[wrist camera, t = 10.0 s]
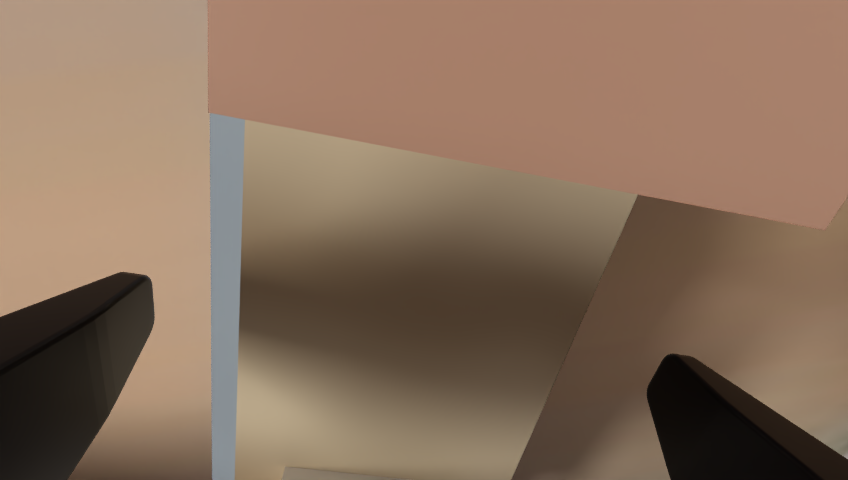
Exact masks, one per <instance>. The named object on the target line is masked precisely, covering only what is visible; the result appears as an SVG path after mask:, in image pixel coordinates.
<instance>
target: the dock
mask: <svg viewBox="0 0 848 480" xmlns="http://www.w3.org/2000/svg"><path fill="white" fill-rule="evenodd" d="M244 132H245V120H244V119H239V118H234V117H229V116H223V115H218V114H213V113H210V215H211V381H212V480H235V447H236V412H237V377H238V342H239V307H240V272H241V237H242V202H243V167H244Z"/></svg>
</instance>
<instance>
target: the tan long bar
mask: <svg viewBox="0 0 848 480" xmlns="http://www.w3.org/2000/svg"><path fill="white" fill-rule="evenodd" d="M637 196H638V195H637V194H632V193H627V192H622V191H616V190H611V189H606V188H601V187H595V186H590V185H585V184H580V183H574V182H569V181H564V180H559V179H554V178H548V177H543V176H538V175H533V174H527V173H522V172H517V171H512V170H506V169H501V168H496V167H491V166H485V165H480V164H475V163H470V162H464V161H459V160H454V159H449V158H444V157H438V156H433V155H428V154H423V153H417V152H412V151H407V150H402V149H396V148H391V147H386V146H381V145H375V144H370V143H365V142H360V141H354V140H349V139H344V138H339V137H333V136H328V135H323V134H318V133H313V132H307V131H302V130H297V129H292V128H286V127H281V126H276V125H271V124H265V123H260V122H255V121H250V120H245V132H244V167H243V202H242V237H241V272H240V307H239V342H238V377H237V412H236V447H235V480H282V477H283V473H284V469H285V467H295V468H304V469H314V470H323V471H333V472H342V473H352V474H362V475H371V476H381V477H390V478H400V479H409V480H511V479H512V477H513V474H514V472H515V470H516V468H517V465H518V463H519V461H520V459H521V456H522V454H523V452H524V450H525V447H526V445H527V443H528V441H529V438H530V436H531V434H532V432H533V430H534V427H535V425H536V423H537V421H538V418H539V416H540V414H541V412H542V409H543V407H544V405H545V403H546V400H547V398H548V396H549V394H550V391H551V389H552V387H553V385H554V382H555V380H556V378H557V376H558V373H559V371H560V369H561V367H562V364H563V362H564V360H565V358H566V355H567V353H568V351H569V349H570V346H571V344H572V342H573V340H574V337H575V335H576V333H577V331H578V328H579V326H580V324H581V322H582V319H583V317H584V315H585V313H586V310H587V308H588V306H589V304H590V301H591V299H592V297H593V295H594V292H595V290H596V288H597V286H598V283H599V281H600V279H601V277H602V274H603V272H604V270H605V268H606V265H607V263H608V261H609V259H610V256H611V254H612V252H613V250H614V247H615V245H616V243H617V241H618V238H619V236H620V234H621V232H622V230H623V227H624V225H625V223H626V221H627V218H628V216H629V214H630V212H631V209H632V207H633V205H634V203H635V200H636V198H637Z"/></svg>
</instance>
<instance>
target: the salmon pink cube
mask: <svg viewBox="0 0 848 480" xmlns="http://www.w3.org/2000/svg"><path fill="white" fill-rule="evenodd" d="M208 113H213V114H218V115H223V116H229V117H234V118H239V119H244V120H250V121H255V122H260V123H265V124H271V125H276V126H281V127H286V128H292V129H297V130H302V131H307V132H313V133H318V134H323V135H328V136H333V137H339V138H344V139H349V140H354V141H360V142H365V143H370V144H375V145H381V146H386V147H391V148H396V149H402V150H407V151H412V152H417V153H423V154H428V155H433V156H438V157H444V158H449V159H454V160H459V161H464V162H470V163H475V164H480V165H485V166H491V167H496V168H501V169H506V170H512V171H517V172H522V173H527V174H533V175H538V176H543V177H548V178H554V179H559V180H564V181H569V182H574V183H580V184H585V185H590V186H595V187H601V188H606V189H611V190H616V191H622V192H627V193H632V194H637V195H643V196H648V197H653V198H658V199H664V200H669V201H674V202H679V203H685V204H690V205H695V206H700V207H705V208H711V209H716V210H721V211H726V212H732V213H737V214H742V215H747V216H753V217H758V218H763V219H768V220H774V221H779V222H784V223H789V224H795V225H800V226H805V227H810V228H815V229H821V230H826V228H827V227H828V225H829V224H830V222H831V221H832V219H833V218H834V216H835V215H836V213H837V212H838V210H839V209H840V207H841V206H842V204H843V203H844V201H845V200H846V198H847V197H848V0H208Z"/></svg>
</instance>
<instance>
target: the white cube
mask: <svg viewBox="0 0 848 480" xmlns="http://www.w3.org/2000/svg"><path fill="white" fill-rule="evenodd" d="M282 480H409V479H400V478H390V477H381V476H371V475H362V474H352V473H342V472H333V471H323V470H314V469H304V468H295V467H285V469H284V473H283V477H282Z"/></svg>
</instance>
